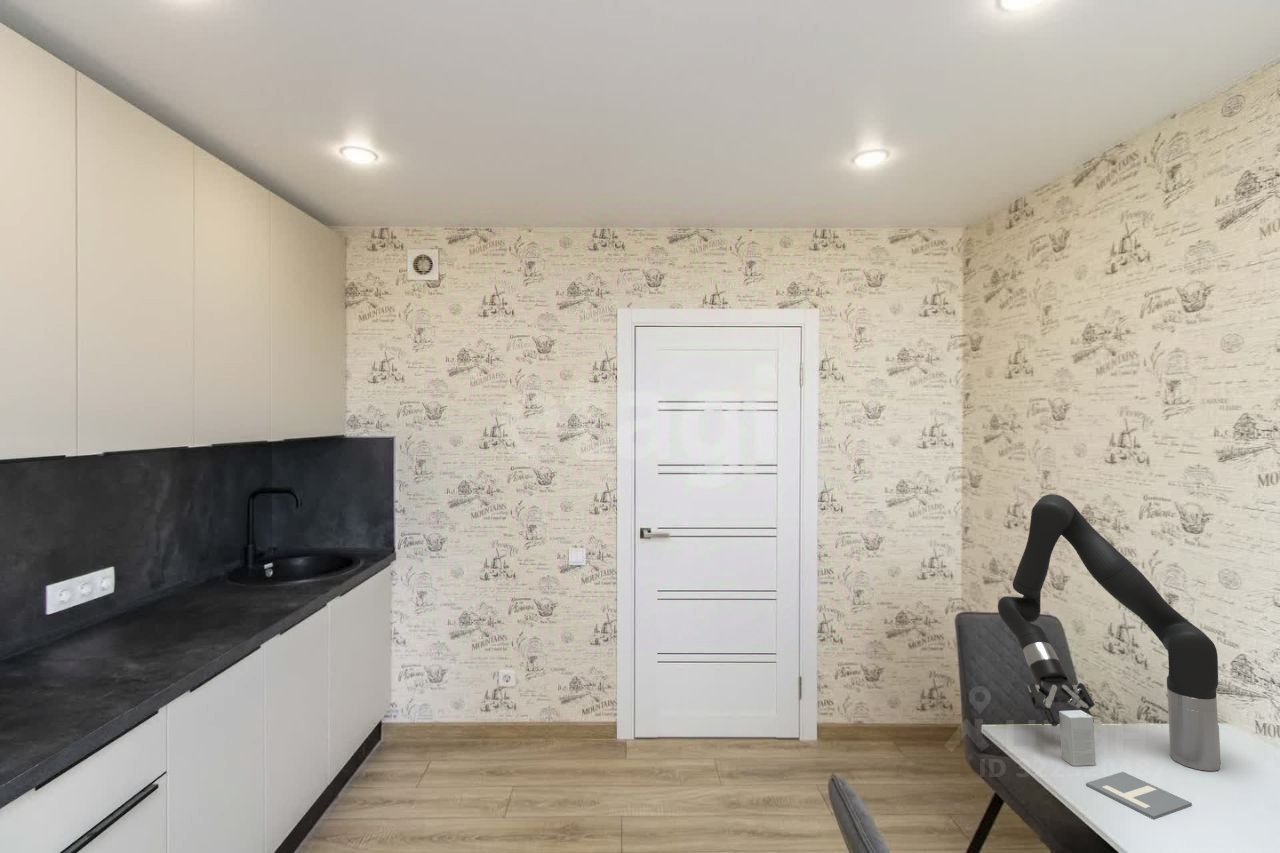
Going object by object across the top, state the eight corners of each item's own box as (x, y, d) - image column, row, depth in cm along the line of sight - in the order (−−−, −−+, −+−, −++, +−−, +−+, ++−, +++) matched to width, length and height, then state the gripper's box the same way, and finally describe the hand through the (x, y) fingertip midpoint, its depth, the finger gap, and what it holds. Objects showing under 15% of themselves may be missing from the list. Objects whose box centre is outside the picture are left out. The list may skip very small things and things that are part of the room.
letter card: (1123, 774, 148) (1122, 771, 148) (1191, 805, 135) (1191, 802, 135) (1086, 785, 144) (1085, 782, 144) (1153, 819, 130) (1153, 816, 131)
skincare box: (1083, 756, 156) (1081, 709, 157) (1096, 765, 152) (1094, 716, 153) (1060, 757, 156) (1058, 710, 157) (1072, 766, 152) (1070, 717, 152)
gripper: (1022, 657, 165) (1050, 719, 153) (1077, 657, 165) (1109, 719, 153) (1012, 670, 170) (1038, 731, 159) (1065, 669, 170) (1095, 731, 158)
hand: (1073, 725), depth 156 cm, fingers open, 8 cm apart
